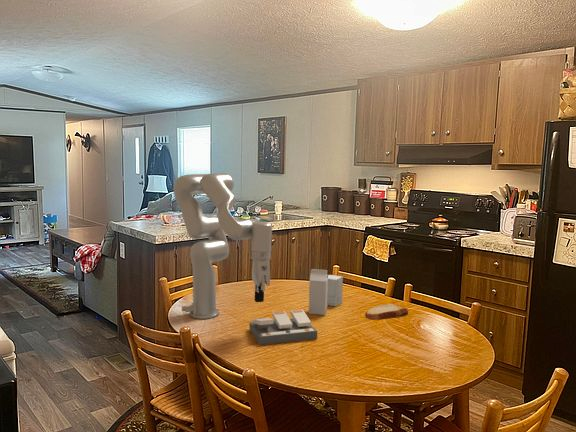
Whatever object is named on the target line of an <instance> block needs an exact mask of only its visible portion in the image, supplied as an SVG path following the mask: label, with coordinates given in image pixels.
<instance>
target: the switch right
mask: <svg viewBox="0 0 576 432" xmlns="http://www.w3.org/2000/svg"><path fill="white" fill-rule="evenodd" d="M289 314H290V316H291V317H292V318H293V319H294V321H295V322H296V324H297V325H298V327H302V326H312V322H311V320H310V318H309V316H308V315H307V314H306V312H305V311H304V309H303V308H301V309H300V308H298V309H297V308H296V309H290V312H289Z"/></svg>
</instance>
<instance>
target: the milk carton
mask: <svg viewBox="0 0 576 432" xmlns="http://www.w3.org/2000/svg"><path fill="white" fill-rule="evenodd" d="M328 275H329V274H328V270H327V269H315V268H313V269H312V268H311V269H310V276H309V289H308V290H309V291H308V292H309V295H308V314H310V315H321V316H322V315H323V316H326V313H327V312H328V305H327V295H328Z"/></svg>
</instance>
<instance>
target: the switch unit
mask: <svg viewBox="0 0 576 432" xmlns="http://www.w3.org/2000/svg"><path fill="white" fill-rule="evenodd" d="M289 319H290V321H291V322H292V328H282V329H279V327H278V325H277V323H276V322H275V320H274V319H272V320H273V324H267V325H258V324H256V323H254V322H253V321H251V322H249V329H248V330H249V331H250V333H251V334H252V335H253V337H254V338H255V340H256V341H257V343H258V345H259V346H263V345H273V344H283V343H290V342H291V343H292V342H300V341H311V340H318V330H317V329H316V328H315V327H314V326H313V325H311V326H302V327H298V325H297V324H296V322H295V321H294V319H293V317H292V318H289Z"/></svg>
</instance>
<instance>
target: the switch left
mask: <svg viewBox="0 0 576 432" xmlns="http://www.w3.org/2000/svg"><path fill="white" fill-rule="evenodd" d="M273 320H274V319H272V318H268V317H265V316H264V317H257V318H256V317H255V318H253V320H252V322H254V323H256V324H258V325H267V324H273Z"/></svg>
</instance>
